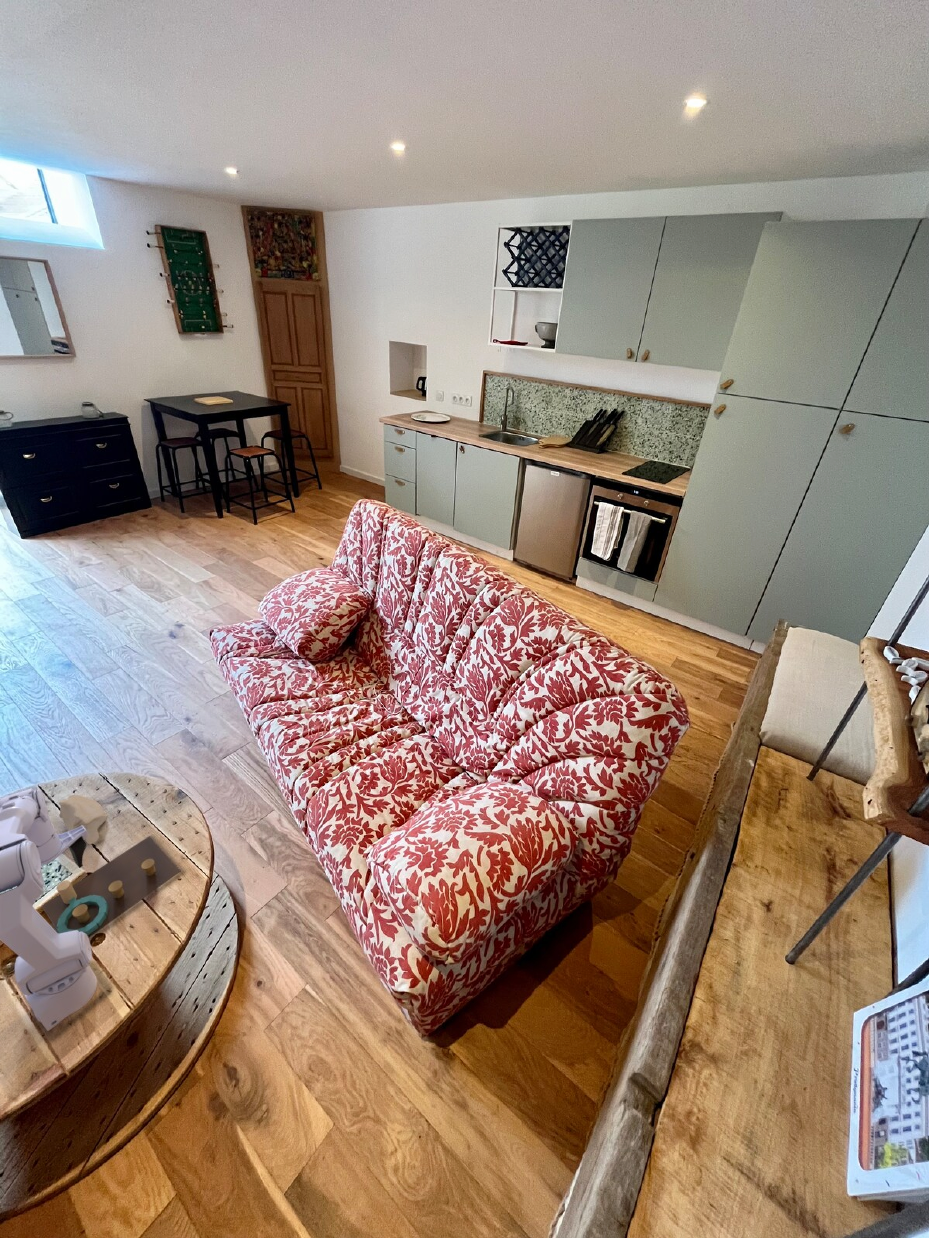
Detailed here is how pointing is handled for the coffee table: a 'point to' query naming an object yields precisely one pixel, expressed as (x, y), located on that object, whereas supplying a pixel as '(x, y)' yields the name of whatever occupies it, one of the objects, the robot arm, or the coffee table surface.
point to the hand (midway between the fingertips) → (59, 877)
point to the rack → (117, 885)
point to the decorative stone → (83, 815)
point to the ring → (70, 898)
